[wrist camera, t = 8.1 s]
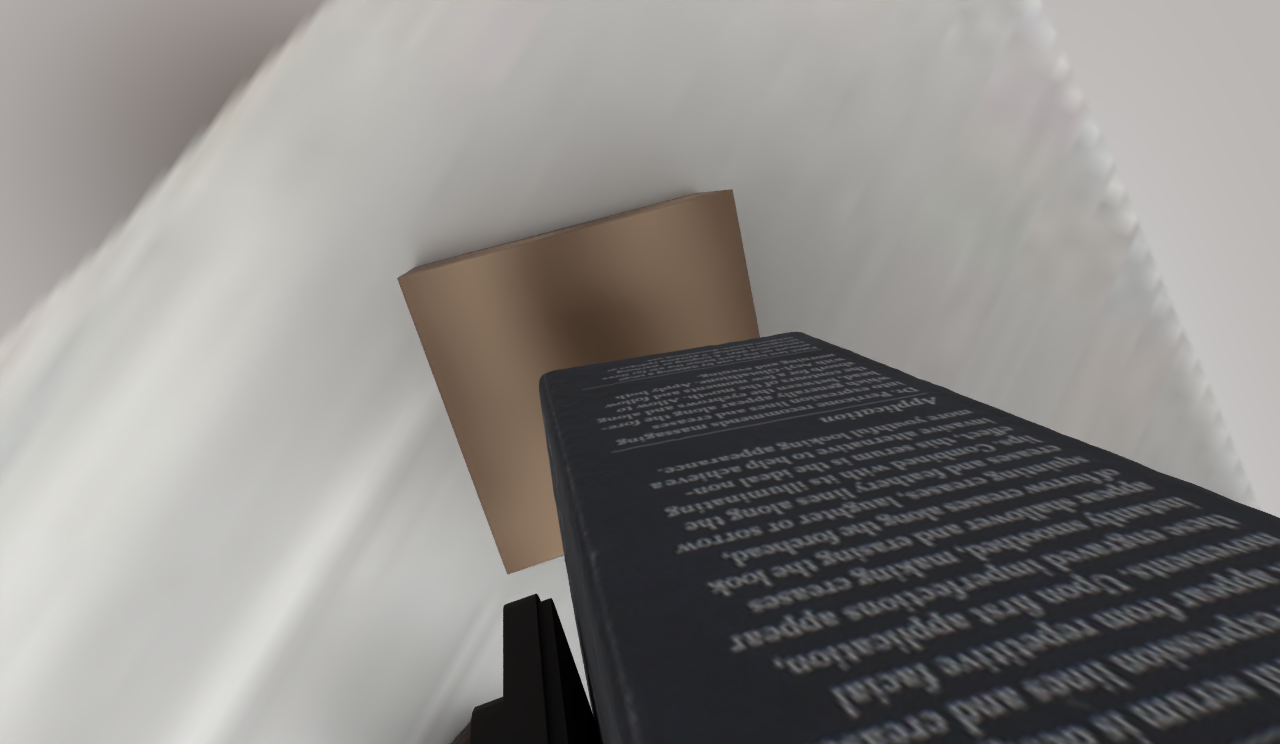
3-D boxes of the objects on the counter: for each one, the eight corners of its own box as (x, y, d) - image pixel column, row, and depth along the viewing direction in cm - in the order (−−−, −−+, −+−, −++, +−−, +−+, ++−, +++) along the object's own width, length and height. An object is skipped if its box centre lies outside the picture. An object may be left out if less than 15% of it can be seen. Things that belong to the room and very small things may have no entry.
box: (812, 631, 15) (1479, 1537, 5) (586, 691, 14) (813, 2013, 4) (802, 320, 12) (2043, 773, 2) (531, 364, 11) (734, 1463, 1)
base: (698, 193, 25) (732, 189, 21) (749, 443, 29) (785, 479, 25) (414, 267, 23) (397, 278, 20) (507, 523, 27) (507, 574, 23)
